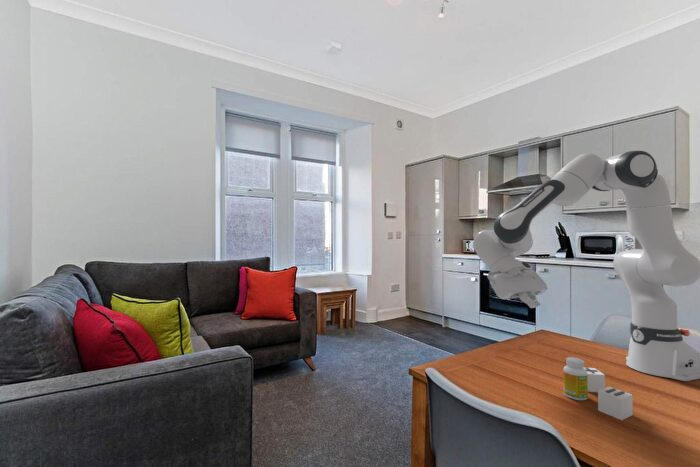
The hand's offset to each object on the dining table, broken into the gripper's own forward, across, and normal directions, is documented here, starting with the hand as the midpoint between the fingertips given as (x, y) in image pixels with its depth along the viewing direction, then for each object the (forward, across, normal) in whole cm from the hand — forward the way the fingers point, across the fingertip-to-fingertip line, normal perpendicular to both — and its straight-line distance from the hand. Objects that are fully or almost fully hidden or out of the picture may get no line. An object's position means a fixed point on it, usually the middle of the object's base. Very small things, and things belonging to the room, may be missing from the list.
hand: (535, 306), depth 102 cm
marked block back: (+23, +9, +8) cm, 26 cm away
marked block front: (+30, 0, +1) cm, 30 cm away
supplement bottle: (+24, 0, +8) cm, 25 cm away
